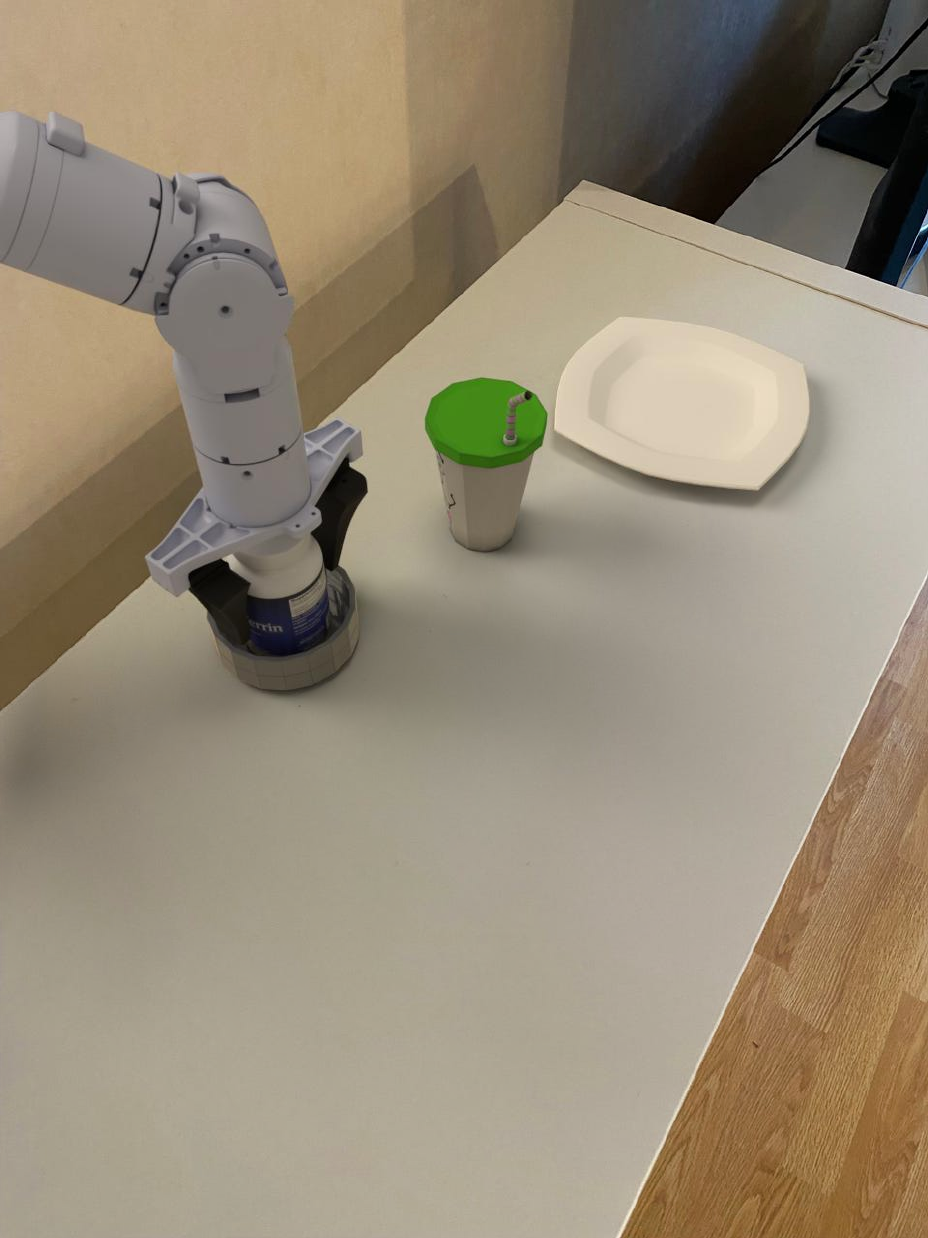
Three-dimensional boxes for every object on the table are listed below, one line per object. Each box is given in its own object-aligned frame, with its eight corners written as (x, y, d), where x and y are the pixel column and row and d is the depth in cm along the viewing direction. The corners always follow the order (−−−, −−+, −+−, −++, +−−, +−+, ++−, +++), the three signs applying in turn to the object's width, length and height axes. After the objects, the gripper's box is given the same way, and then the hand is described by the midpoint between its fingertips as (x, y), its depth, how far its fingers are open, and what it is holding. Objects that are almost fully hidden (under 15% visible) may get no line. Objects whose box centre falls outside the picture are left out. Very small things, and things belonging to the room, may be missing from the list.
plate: (772, 530, 73) (779, 510, 71) (521, 455, 77) (523, 435, 76) (824, 376, 84) (831, 356, 82) (602, 318, 88) (605, 299, 87)
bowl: (213, 701, 63) (203, 668, 60) (220, 587, 69) (211, 552, 66) (362, 689, 64) (358, 656, 61) (356, 577, 69) (352, 542, 67)
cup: (427, 490, 75) (423, 315, 63) (533, 489, 75) (548, 315, 63) (427, 570, 70) (423, 396, 58) (540, 568, 70) (559, 395, 58)
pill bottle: (225, 638, 65) (195, 531, 58) (286, 584, 68) (265, 476, 61) (291, 682, 63) (269, 577, 56) (351, 625, 66) (338, 517, 58)
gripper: (191, 543, 47) (238, 706, 58) (397, 390, 54) (405, 560, 65) (95, 476, 50) (157, 643, 61) (303, 339, 57) (326, 510, 68)
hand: (280, 597), depth 63 cm, fingers open, 7 cm apart
